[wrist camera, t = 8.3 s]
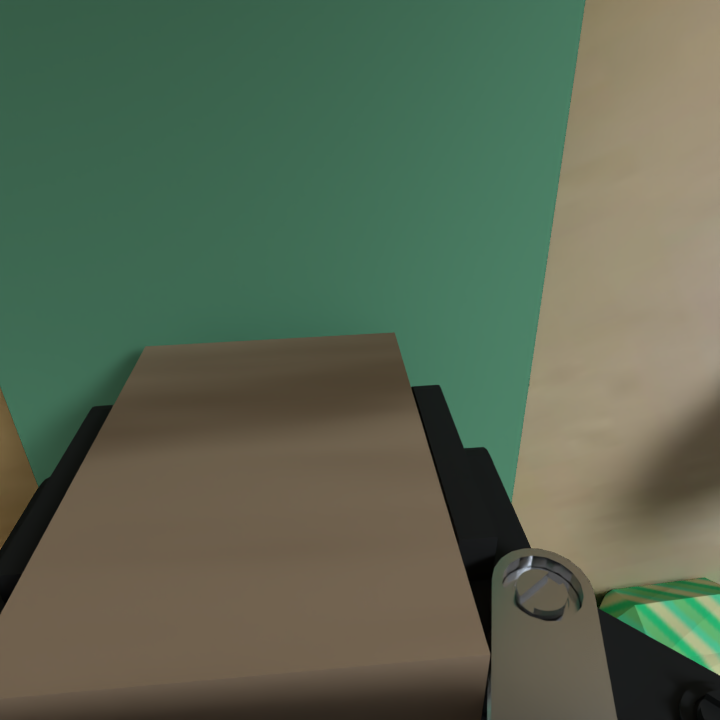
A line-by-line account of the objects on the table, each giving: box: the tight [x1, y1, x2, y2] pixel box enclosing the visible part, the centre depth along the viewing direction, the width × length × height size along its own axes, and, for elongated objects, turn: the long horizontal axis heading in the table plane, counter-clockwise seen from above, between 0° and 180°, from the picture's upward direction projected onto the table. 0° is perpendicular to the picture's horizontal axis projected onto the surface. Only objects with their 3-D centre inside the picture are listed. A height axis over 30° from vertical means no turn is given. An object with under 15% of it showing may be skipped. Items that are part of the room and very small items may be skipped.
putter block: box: [0, 332, 490, 720], centre depth 10 cm, size 6×5×7 cm
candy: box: [599, 578, 720, 675], centre depth 21 cm, size 12×3×4 cm
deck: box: [0, 0, 585, 502], centre depth 14 cm, size 26×12×6 cm, turn 1°
